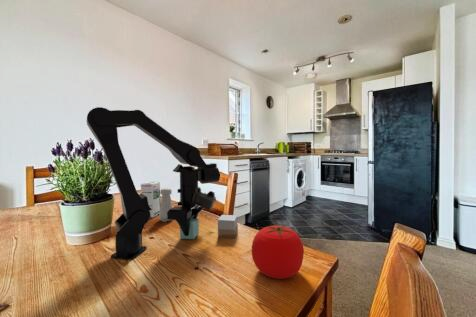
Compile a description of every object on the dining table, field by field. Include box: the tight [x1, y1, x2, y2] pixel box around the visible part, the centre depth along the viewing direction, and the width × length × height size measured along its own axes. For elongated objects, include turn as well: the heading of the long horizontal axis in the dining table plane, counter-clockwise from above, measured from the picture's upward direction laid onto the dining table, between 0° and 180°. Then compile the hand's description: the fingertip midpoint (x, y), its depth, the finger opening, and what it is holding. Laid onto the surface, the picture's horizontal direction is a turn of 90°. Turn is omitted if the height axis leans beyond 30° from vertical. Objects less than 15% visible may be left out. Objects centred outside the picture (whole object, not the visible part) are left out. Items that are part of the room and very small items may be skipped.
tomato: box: [251, 224, 305, 280], centre depth 48 cm, size 12×12×10 cm
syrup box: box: [140, 181, 161, 218], centre depth 90 cm, size 6×6×14 cm
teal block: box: [179, 218, 200, 240], centre depth 67 cm, size 4×4×5 cm
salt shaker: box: [158, 187, 174, 223], centre depth 84 cm, size 6×6×13 cm
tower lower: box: [217, 223, 239, 239], centre depth 69 cm, size 6×6×3 cm
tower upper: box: [217, 214, 238, 230], centre depth 69 cm, size 6×6×3 cm
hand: (189, 232), depth 67 cm, fingers closed on teal block, 4 cm apart
